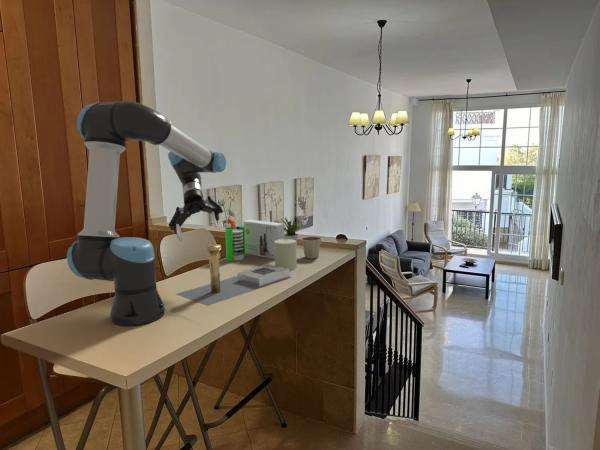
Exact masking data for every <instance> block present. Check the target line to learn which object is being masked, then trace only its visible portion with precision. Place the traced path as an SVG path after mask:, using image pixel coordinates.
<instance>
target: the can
mask: <svg viewBox="0 0 600 450" xmlns="http://www.w3.org/2000/svg"><path fill="white" fill-rule="evenodd" d="M274 247H275V259H274V266H278V267H282V268H287V269H290V271H291V270H295V269H297V267H298V264H297V263H298V262H297V246H296V240H293V239H285V238H284V239H279V240H275V241H274Z"/></svg>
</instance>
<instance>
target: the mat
mask: <svg viewBox="0 0 600 450" xmlns="http://www.w3.org/2000/svg"><path fill="white" fill-rule="evenodd" d="M291 278H293V277H292V276H290V277H288V278H285V279H282V280H279V281H276V282H273V283H270V284H267V285H264V286H261V287H257V286H254V285H250V284H247V283H243V282H240V281H238V280H237V275H235V276H233V277H230V278H226V279H222V280H220V289H221V292H220V293H211V283H210V284H209V283H208V284H206V285H201V286H198V287H195V288H191V289H188V290H184V291H182V292H179V293H176V295H178V296H180V297H183V298H185V299H189V300H190V301H193V302H196V303H200V304H202V305H205V306H212V305H215V304H217V303H220V302H223V301H227V300H229V299H232V298H235V297H238V296H241V295H244V294H246V293H247V294H248V293H251V292H253V291H256V290H259V289H262V288H265V287H268V286H271V285H275V284H277V283H280V282H282V281H286V280H288V279H291Z"/></svg>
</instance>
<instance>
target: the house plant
mask: <svg viewBox="0 0 600 450" xmlns="http://www.w3.org/2000/svg"><path fill="white" fill-rule="evenodd" d="M292 217H293V215H291V217H290V218H292ZM283 218H284V220H283V219H282V218H280V217H279V220H280V223H282V224H284V239H293V240H296V247H297V245H298V238H299V234H298V233H296V232H299V230H300V229H301V227H302V225H301V226H300V225H298V223H300V221H301V220H302V219H303V217H301V218H299V220H296V218H295V217H293V219H290V221H289V220H288V218H287V217H286V216H284V217H283Z"/></svg>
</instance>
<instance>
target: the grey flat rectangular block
mask: <svg viewBox="0 0 600 450" xmlns="http://www.w3.org/2000/svg"><path fill="white" fill-rule="evenodd" d="M236 276H237V280H238V281H240V282H243V283H247V284H250V285H254V286H257V287H261V286H264V285H267V284H270V283H273V282H276V281H279V280H282V279H285V278H288V277H291V270H290V269H287V268H282V267H278V266H275V264H274V265H273V264H269V263H267V264H264V265H262V266H257V267H254V268H251V269H247V270H244V271H240V272H237V274H236Z"/></svg>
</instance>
